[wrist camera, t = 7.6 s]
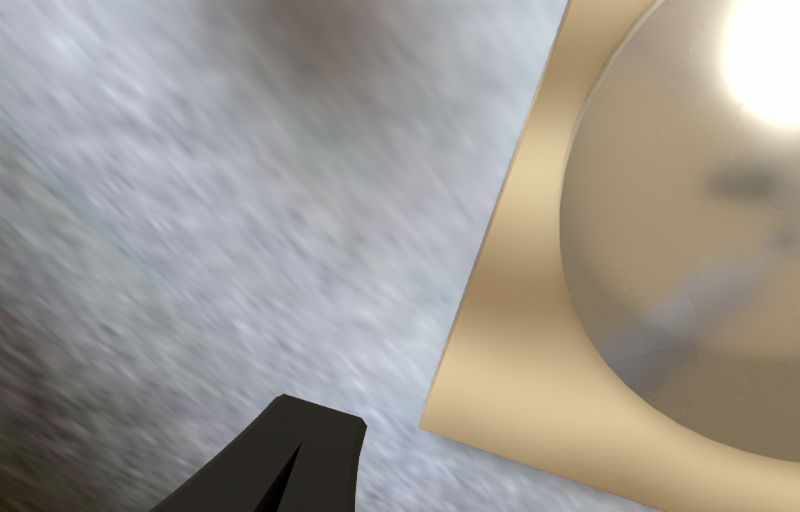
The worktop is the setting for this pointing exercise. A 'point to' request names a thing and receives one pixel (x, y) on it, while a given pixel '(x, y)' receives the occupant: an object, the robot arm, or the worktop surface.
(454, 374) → the stand plate
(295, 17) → the worktop surface
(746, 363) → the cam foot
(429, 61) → the worktop surface
